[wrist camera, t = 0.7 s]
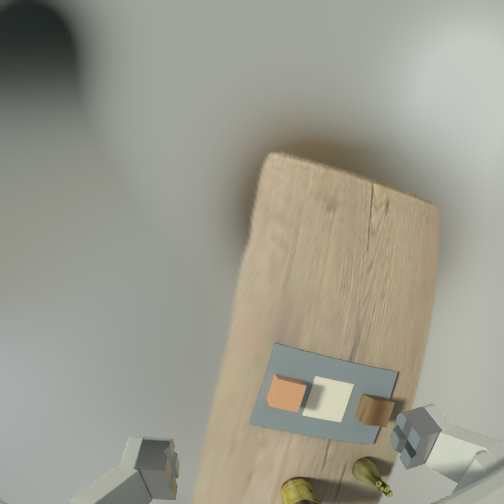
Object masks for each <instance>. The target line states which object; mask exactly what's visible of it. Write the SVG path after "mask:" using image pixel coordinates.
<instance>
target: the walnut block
mask: <svg viewBox="0 0 504 504" xmlns="http://www.w3.org/2000/svg"><path fill="white" fill-rule="evenodd" d="M394 404H395V402H392V401H390V400H388V399H386V398H384V397H379V396H373V395H367V394H362V396H361V399H360V402H359V405H358V408H357V411H356V414H355V418H356V419H357V420H359V421H360V422H361V423H363V424H364V425H372V426H380V427H387V424H388V422H389V419H390V416H391V413H392V410H393V407H394Z"/></svg>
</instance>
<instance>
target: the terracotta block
mask: <svg viewBox="0 0 504 504" xmlns="http://www.w3.org/2000/svg"><path fill="white" fill-rule="evenodd" d="M306 387H307V386H306V385H305V384H304V383H303V382H302V381H301V380H297V379H293V378H289V377H285V376H281V375H277V374H274V377H273V380H272V384H271V387H270V390H269V393H268V396H267V402H268V404H269V406H270V407H274V408H279V409H283V410H288V411H292V412H297V413H298V410H299V407H300V405H301V402H302V399H303V396H304V393H305V390H306Z"/></svg>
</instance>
